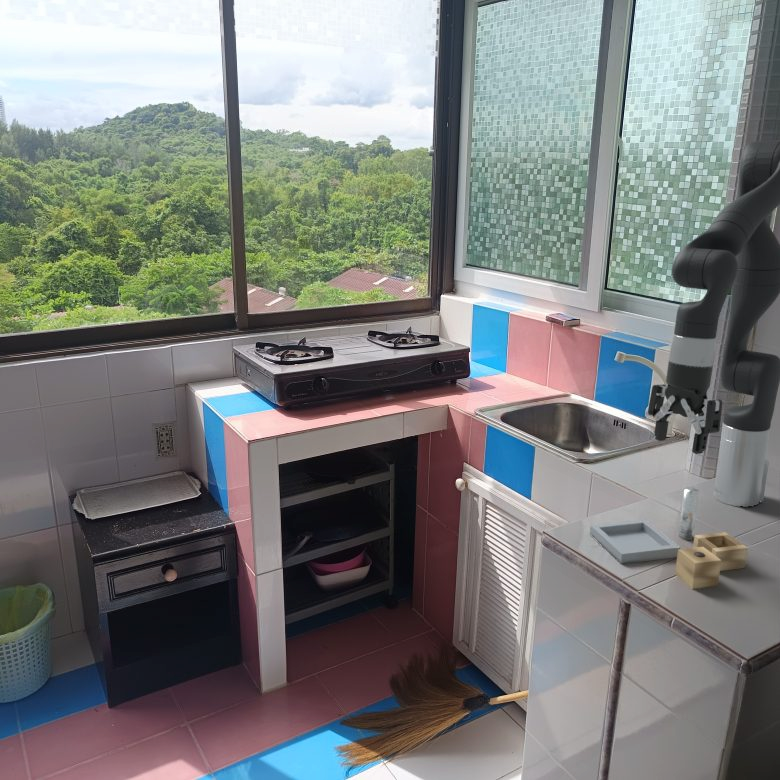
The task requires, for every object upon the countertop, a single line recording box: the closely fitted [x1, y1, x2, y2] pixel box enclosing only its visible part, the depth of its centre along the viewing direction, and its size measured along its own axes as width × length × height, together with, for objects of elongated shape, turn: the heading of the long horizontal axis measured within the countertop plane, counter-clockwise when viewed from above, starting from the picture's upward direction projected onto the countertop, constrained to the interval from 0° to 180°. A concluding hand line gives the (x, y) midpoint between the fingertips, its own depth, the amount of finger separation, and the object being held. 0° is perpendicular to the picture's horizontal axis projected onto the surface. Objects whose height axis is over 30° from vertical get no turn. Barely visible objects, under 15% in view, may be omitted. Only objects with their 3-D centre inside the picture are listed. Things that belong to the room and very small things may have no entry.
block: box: [674, 547, 721, 590], centre depth 129 cm, size 5×5×5 cm
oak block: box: [692, 531, 749, 572], centre depth 136 cm, size 6×6×4 cm
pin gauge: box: [678, 486, 699, 541], centre depth 144 cm, size 3×3×10 cm
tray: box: [589, 519, 682, 565], centre depth 142 cm, size 12×12×2 cm
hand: (678, 446), depth 137 cm, fingers open, 8 cm apart
